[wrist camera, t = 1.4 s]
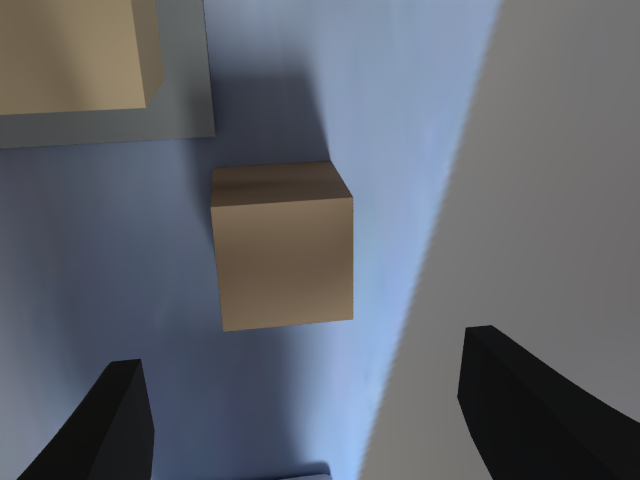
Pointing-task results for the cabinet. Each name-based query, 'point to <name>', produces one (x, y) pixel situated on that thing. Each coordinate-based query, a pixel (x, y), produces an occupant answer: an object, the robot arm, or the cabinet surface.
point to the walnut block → (282, 244)
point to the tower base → (138, 122)
